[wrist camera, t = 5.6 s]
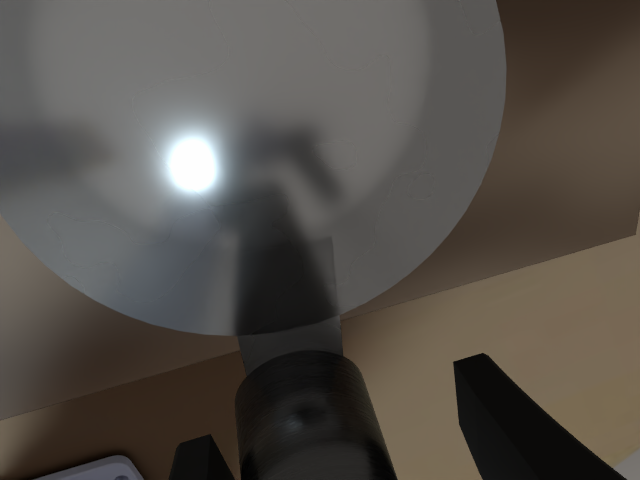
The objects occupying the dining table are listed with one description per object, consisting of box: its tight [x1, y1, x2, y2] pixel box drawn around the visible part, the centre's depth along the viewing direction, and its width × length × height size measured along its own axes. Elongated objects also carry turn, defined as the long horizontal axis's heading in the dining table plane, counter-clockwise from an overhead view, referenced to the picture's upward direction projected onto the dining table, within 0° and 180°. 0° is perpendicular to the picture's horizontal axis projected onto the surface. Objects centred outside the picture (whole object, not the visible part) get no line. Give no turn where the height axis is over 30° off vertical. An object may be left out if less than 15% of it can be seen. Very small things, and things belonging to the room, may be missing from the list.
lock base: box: [0, 0, 640, 420], centre depth 12 cm, size 16×20×4 cm
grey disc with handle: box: [0, 0, 507, 480], centre depth 9 cm, size 11×8×6 cm
